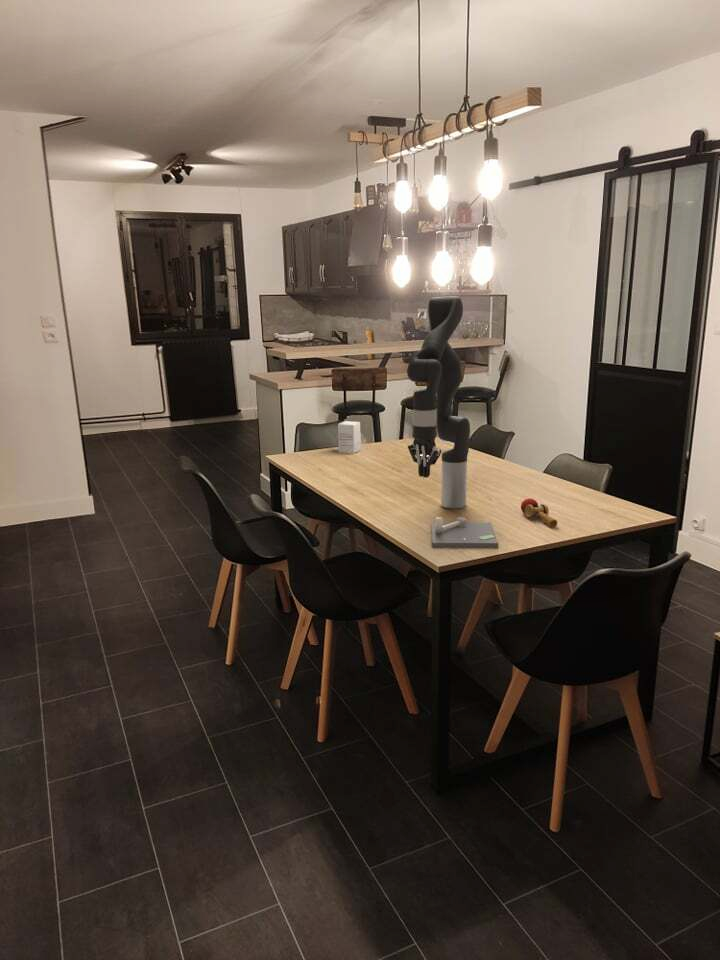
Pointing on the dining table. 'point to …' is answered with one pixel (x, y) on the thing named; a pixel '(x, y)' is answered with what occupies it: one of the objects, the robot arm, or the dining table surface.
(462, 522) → the pale grey bar
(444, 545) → the dial plate
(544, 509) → the kendama
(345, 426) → the supplement box
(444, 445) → the dining table surface
